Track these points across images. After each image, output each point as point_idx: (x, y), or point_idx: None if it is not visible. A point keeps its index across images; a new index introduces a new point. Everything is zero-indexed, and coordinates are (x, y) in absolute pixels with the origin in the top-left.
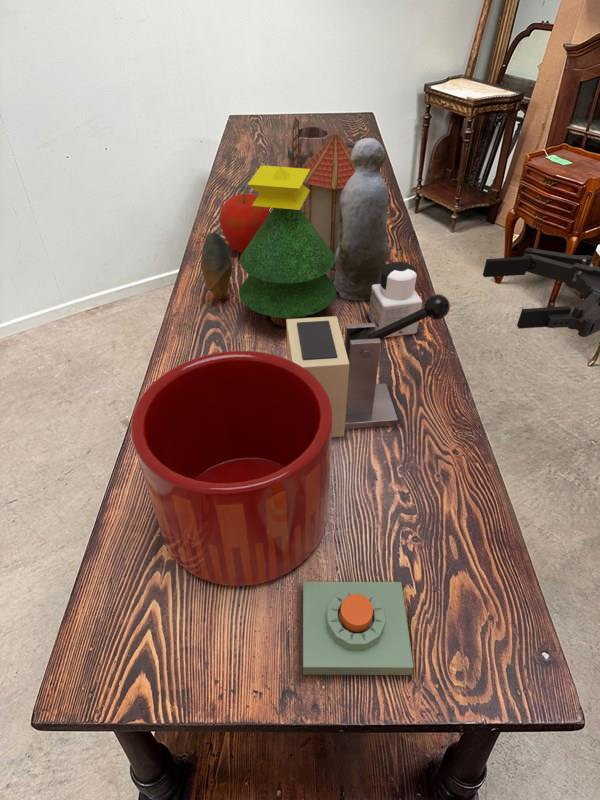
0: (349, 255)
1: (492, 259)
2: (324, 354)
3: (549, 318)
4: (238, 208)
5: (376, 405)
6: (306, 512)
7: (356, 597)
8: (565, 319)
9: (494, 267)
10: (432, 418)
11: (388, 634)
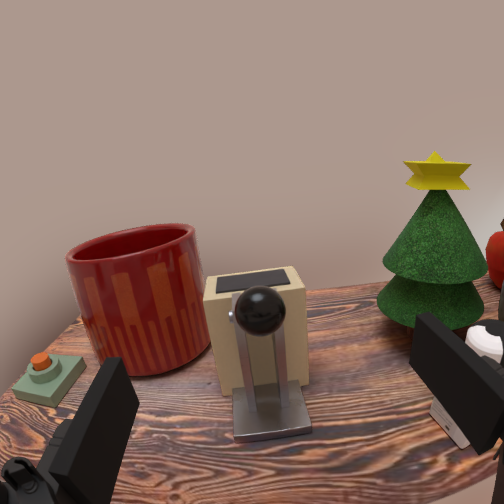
0: (500, 299)
1: (434, 320)
2: (221, 285)
3: (71, 420)
4: (497, 235)
5: (263, 416)
6: (80, 311)
7: (44, 358)
8: (43, 455)
9: (426, 349)
10: (247, 484)
11: (30, 383)
